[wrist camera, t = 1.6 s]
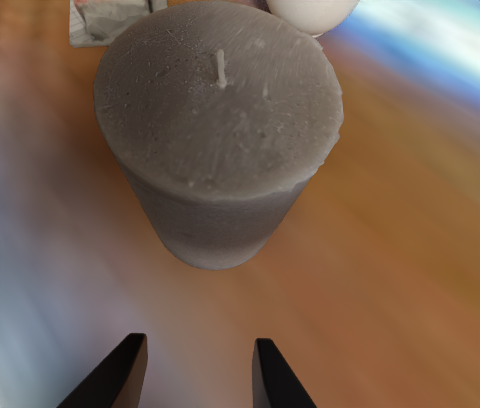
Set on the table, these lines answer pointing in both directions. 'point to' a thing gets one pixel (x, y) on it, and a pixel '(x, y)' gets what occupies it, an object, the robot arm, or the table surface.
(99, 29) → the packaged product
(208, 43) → the pillar candle
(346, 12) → the lidded jar
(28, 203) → the table surface
